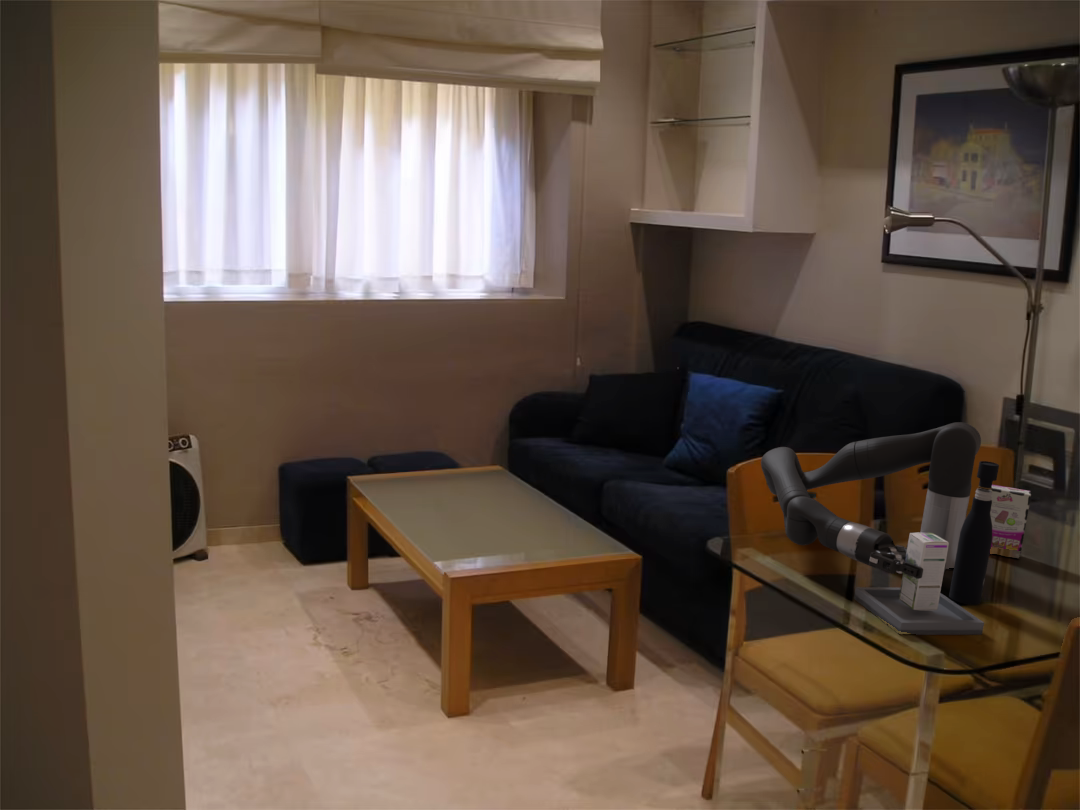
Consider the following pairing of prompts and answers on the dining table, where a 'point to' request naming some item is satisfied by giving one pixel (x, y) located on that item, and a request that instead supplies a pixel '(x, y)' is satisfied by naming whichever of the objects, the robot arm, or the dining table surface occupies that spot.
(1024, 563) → the dining table surface
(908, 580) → the syrup box
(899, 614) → the tray
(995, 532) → the candy bar box
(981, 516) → the dark water bottle
